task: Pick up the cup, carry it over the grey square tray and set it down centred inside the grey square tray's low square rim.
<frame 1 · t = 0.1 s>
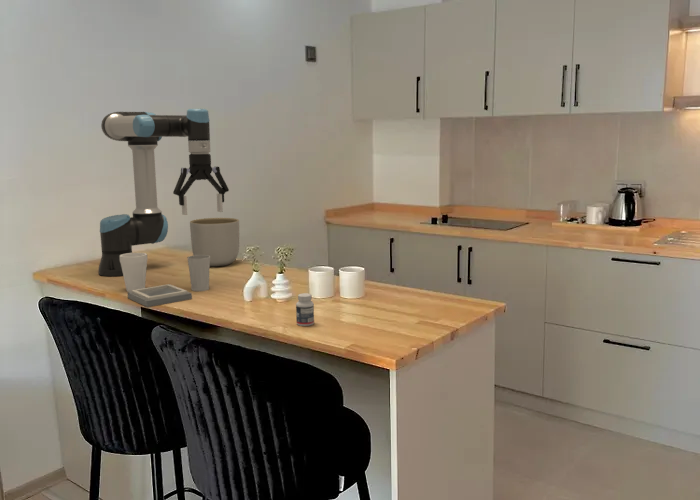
hand: (202, 213, 234), 28 cm above the table, fingers open, 13 cm apart
foam cup: (135, 290, 237), on the table
grey square tray: (159, 298, 224), on the table
pill bottle: (305, 324, 193), on the table
planter: (216, 264, 284), on the table
cup: (200, 289, 238), on the table
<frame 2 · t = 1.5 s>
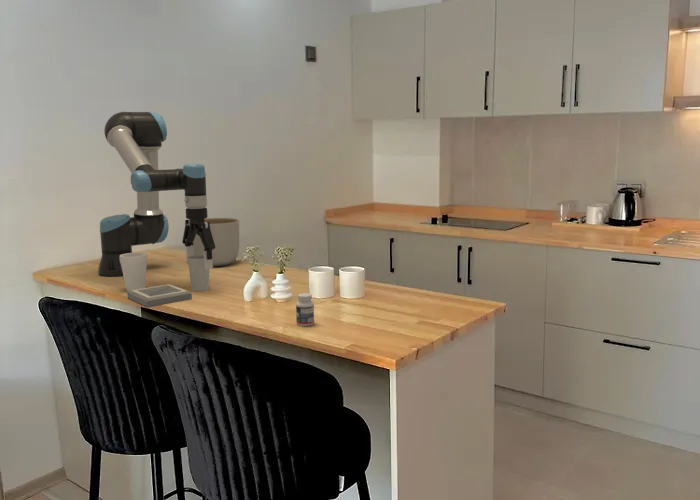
hand: (199, 266, 236), 9 cm above the table, fingers open, 13 cm apart
nothing on the table moved.
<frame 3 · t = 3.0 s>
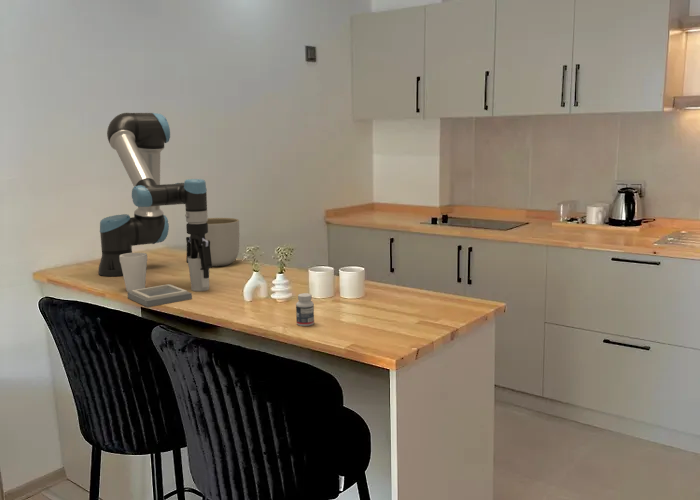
hand: (200, 284, 237), 2 cm above the table, fingers closed on cup, 7 cm apart
cup: (200, 289, 238), on the table, touching gripper
everything else where it was.
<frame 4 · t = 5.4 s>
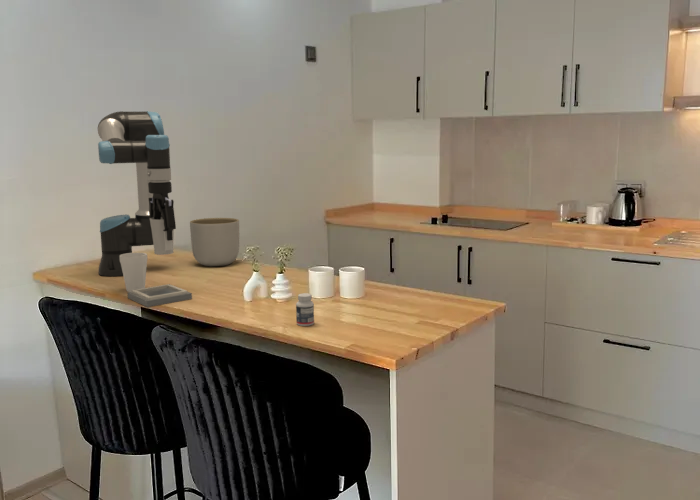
hand: (163, 248, 223), 17 cm above the table, fingers closed on cup, 7 cm apart
cup: (164, 253, 224), point 15 cm above the table, touching gripper
everything else where it was.
when the fingers open (4 cm above the table, at t = 7.9 s): cup stays where it is, resting on grey square tray.
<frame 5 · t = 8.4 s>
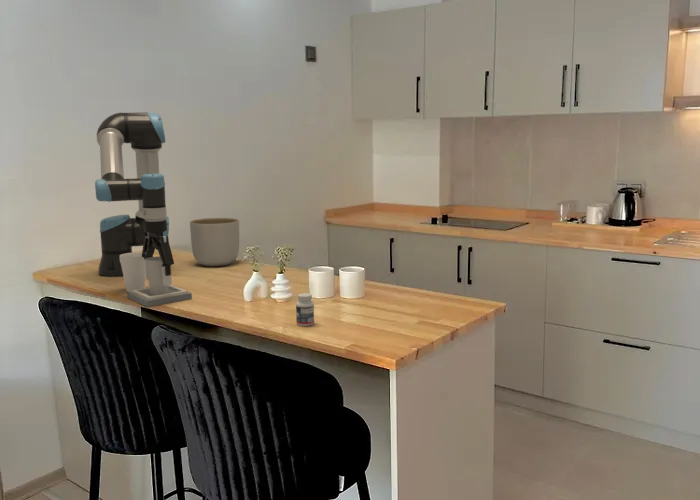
hand: (158, 281, 223), 6 cm above the table, fingers open, 13 cm apart
cup: (159, 293, 224), point 2 cm above the table, touching grey square tray
everything else where it was.
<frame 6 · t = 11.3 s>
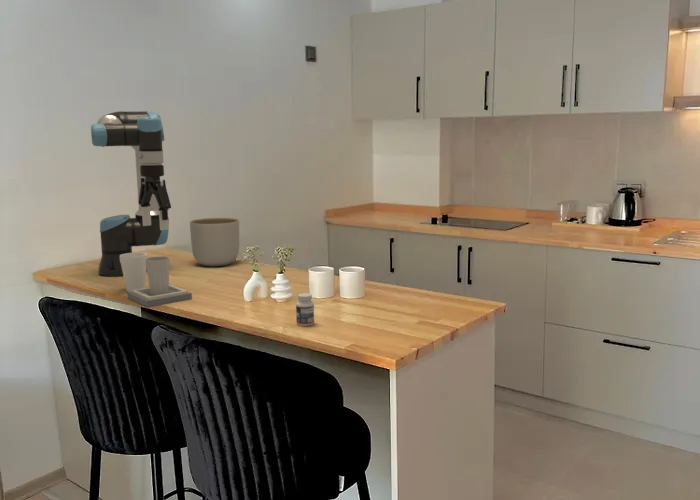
hand: (155, 227, 220), 25 cm above the table, fingers open, 13 cm apart
nothing on the table moved.
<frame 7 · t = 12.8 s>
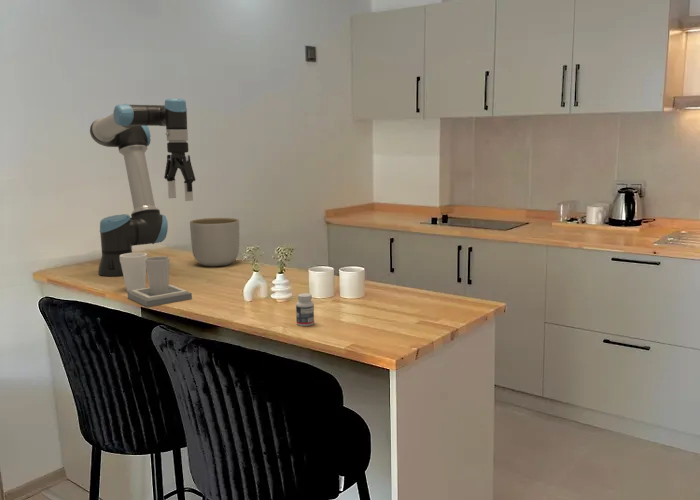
hand: (180, 199, 243), 32 cm above the table, fingers open, 13 cm apart
nothing on the table moved.
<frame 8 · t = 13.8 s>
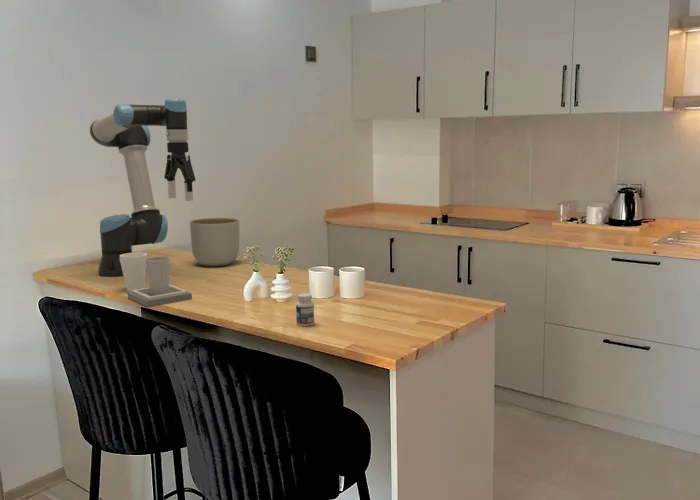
hand: (180, 199, 243), 32 cm above the table, fingers open, 13 cm apart
nothing on the table moved.
at the end: cup 0.1 cm off-centre on the grey square tray, point 1.8 cm above the grey square tray's base; cup tilted 0°; the gripper is holding nothing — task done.
